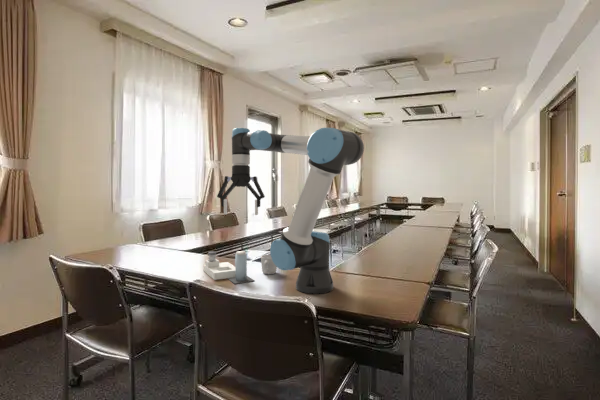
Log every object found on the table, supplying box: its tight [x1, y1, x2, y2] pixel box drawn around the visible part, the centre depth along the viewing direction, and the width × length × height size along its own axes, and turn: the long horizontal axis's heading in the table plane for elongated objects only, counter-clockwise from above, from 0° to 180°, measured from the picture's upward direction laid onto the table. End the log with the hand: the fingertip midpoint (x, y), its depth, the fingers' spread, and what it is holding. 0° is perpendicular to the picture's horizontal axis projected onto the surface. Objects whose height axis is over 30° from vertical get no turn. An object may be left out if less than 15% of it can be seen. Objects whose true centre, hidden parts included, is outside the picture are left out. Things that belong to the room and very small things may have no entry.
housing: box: [202, 258, 235, 281], centre depth 162 cm, size 18×12×6 cm, turn 30°
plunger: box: [207, 251, 217, 262], centre depth 164 cm, size 4×4×6 cm
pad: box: [227, 275, 255, 285], centre depth 151 cm, size 9×9×1 cm
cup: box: [260, 254, 278, 275], centre depth 162 cm, size 11×8×8 cm
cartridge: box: [234, 250, 248, 281], centre depth 151 cm, size 5×5×12 cm
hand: (240, 214), depth 149 cm, fingers open, 13 cm apart
